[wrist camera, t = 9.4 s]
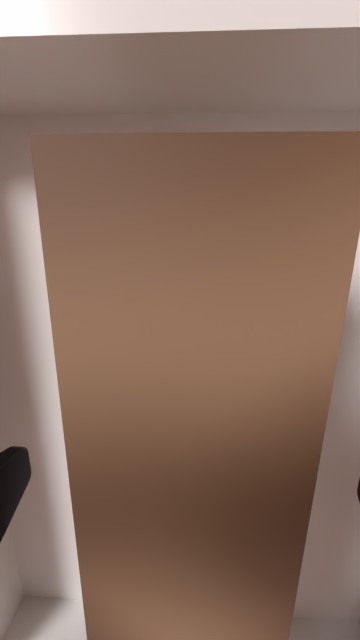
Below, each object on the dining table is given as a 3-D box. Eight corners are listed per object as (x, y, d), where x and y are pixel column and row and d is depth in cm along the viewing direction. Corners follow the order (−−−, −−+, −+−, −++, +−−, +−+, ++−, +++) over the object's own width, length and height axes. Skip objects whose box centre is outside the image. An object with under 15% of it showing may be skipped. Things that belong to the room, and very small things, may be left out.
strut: (237, 585, 12) (264, 828, 7) (138, 578, 12) (98, 808, 7) (273, 196, 8) (397, 131, 3) (124, 196, 8) (10, 134, 3)
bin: (508, 79, 8) (831, -83, 4) (365, 611, 13) (434, 766, 9) (-80, 89, 8) (-313, -35, 5) (18, 583, 14) (-50, 715, 10)
